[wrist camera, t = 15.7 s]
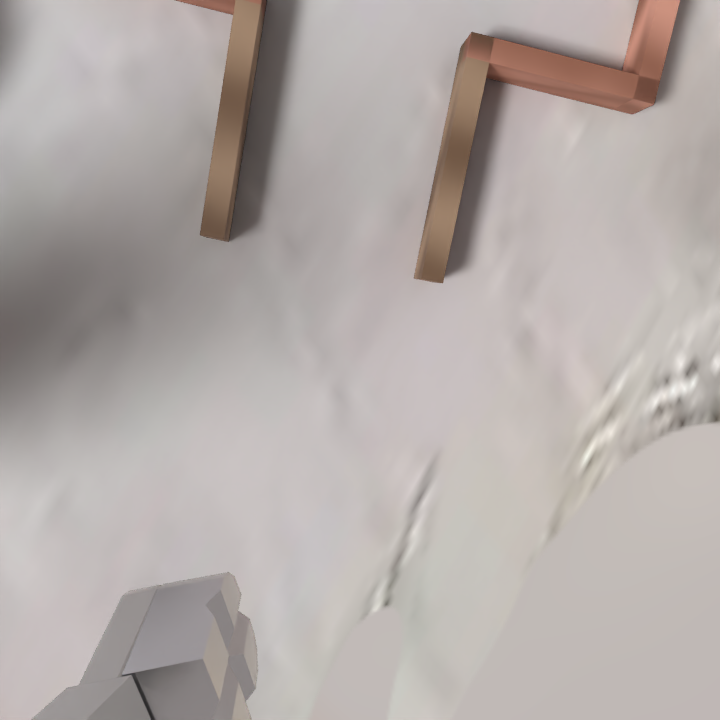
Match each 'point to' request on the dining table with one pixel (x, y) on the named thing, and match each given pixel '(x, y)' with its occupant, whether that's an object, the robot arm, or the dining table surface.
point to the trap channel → (474, 66)
